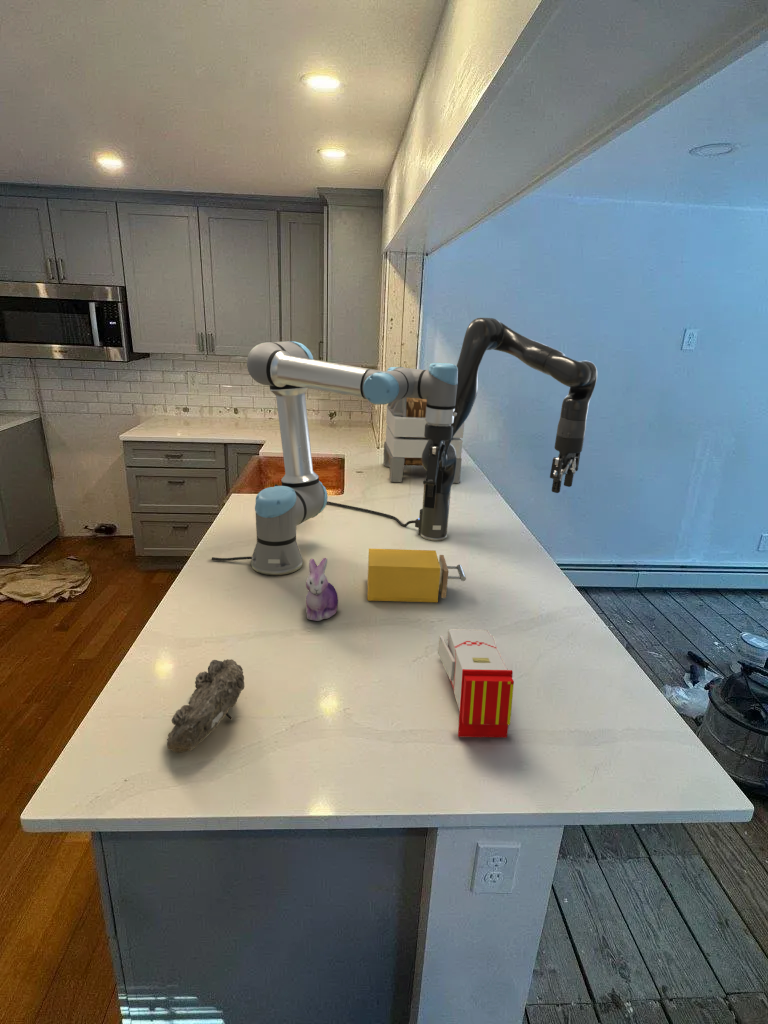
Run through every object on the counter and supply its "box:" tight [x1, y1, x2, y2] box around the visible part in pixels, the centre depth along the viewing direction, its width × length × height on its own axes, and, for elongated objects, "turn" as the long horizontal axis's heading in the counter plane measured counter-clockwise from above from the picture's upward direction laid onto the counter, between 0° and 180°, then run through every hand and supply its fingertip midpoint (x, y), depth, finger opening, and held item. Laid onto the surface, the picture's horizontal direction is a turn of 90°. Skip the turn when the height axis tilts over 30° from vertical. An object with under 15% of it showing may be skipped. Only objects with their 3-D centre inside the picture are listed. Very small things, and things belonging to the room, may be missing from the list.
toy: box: [437, 628, 515, 738], centre depth 117 cm, size 12×13×30 cm
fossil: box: [166, 658, 245, 754], centre depth 106 cm, size 22×10×15 cm
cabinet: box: [367, 548, 441, 603], centre depth 158 cm, size 19×12×10 cm, turn 92°
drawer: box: [438, 554, 467, 599], centre depth 158 cm, size 23×10×8 cm, turn 92°
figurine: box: [305, 557, 339, 622], centre depth 144 cm, size 9×10×15 cm
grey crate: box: [383, 397, 465, 484], centre depth 268 cm, size 34×33×41 cm
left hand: (432, 499), depth 157 cm, fingers open, 13 cm apart
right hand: (561, 489), depth 165 cm, fingers open, 8 cm apart
